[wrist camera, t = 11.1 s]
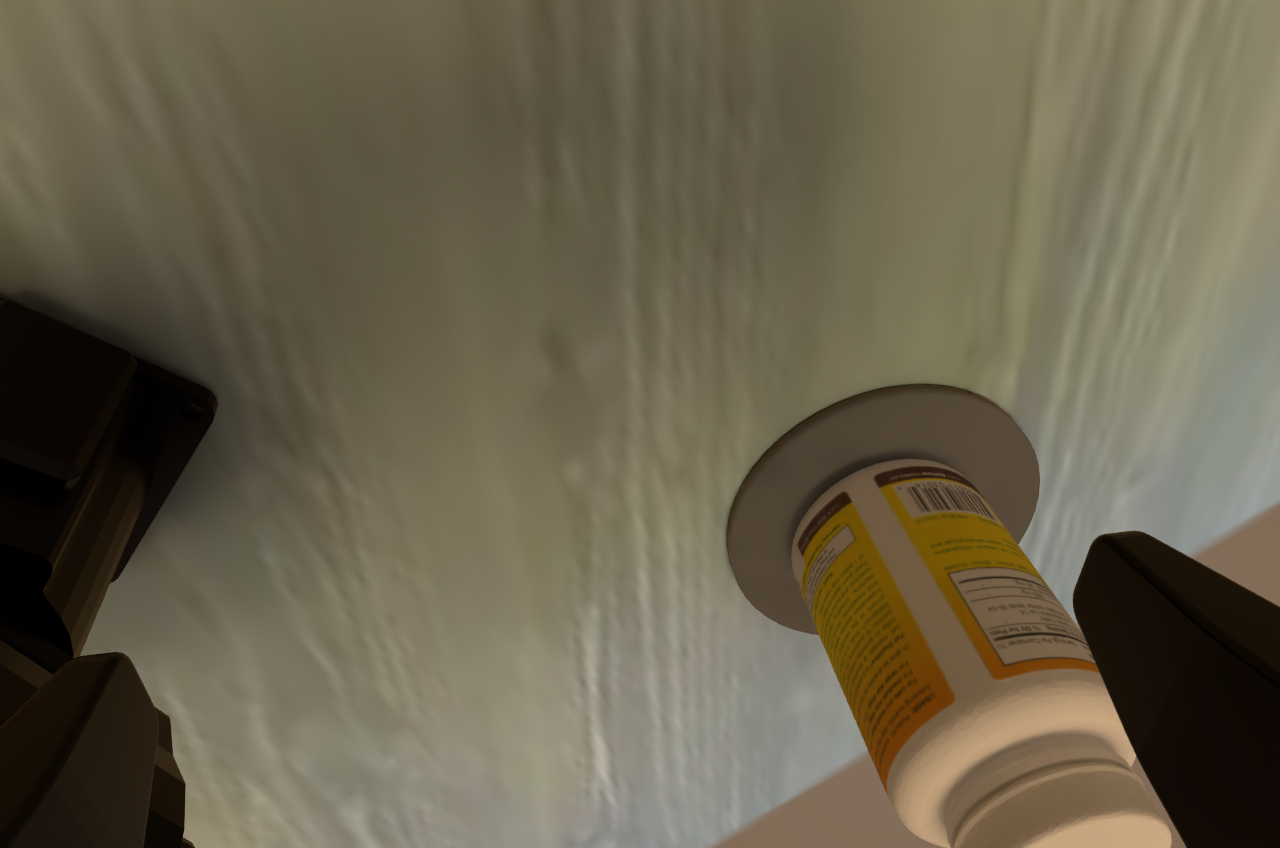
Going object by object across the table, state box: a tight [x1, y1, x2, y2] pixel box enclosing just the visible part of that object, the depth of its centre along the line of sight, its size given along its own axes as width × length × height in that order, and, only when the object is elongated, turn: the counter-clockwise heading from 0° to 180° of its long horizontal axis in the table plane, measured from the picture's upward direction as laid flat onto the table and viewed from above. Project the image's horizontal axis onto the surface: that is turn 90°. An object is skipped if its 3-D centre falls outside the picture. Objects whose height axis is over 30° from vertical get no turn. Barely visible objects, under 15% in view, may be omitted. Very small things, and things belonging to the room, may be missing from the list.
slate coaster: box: [727, 384, 1040, 635], centre depth 27 cm, size 9×9×1 cm
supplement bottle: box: [791, 459, 1171, 848], centre depth 22 cm, size 6×6×10 cm
